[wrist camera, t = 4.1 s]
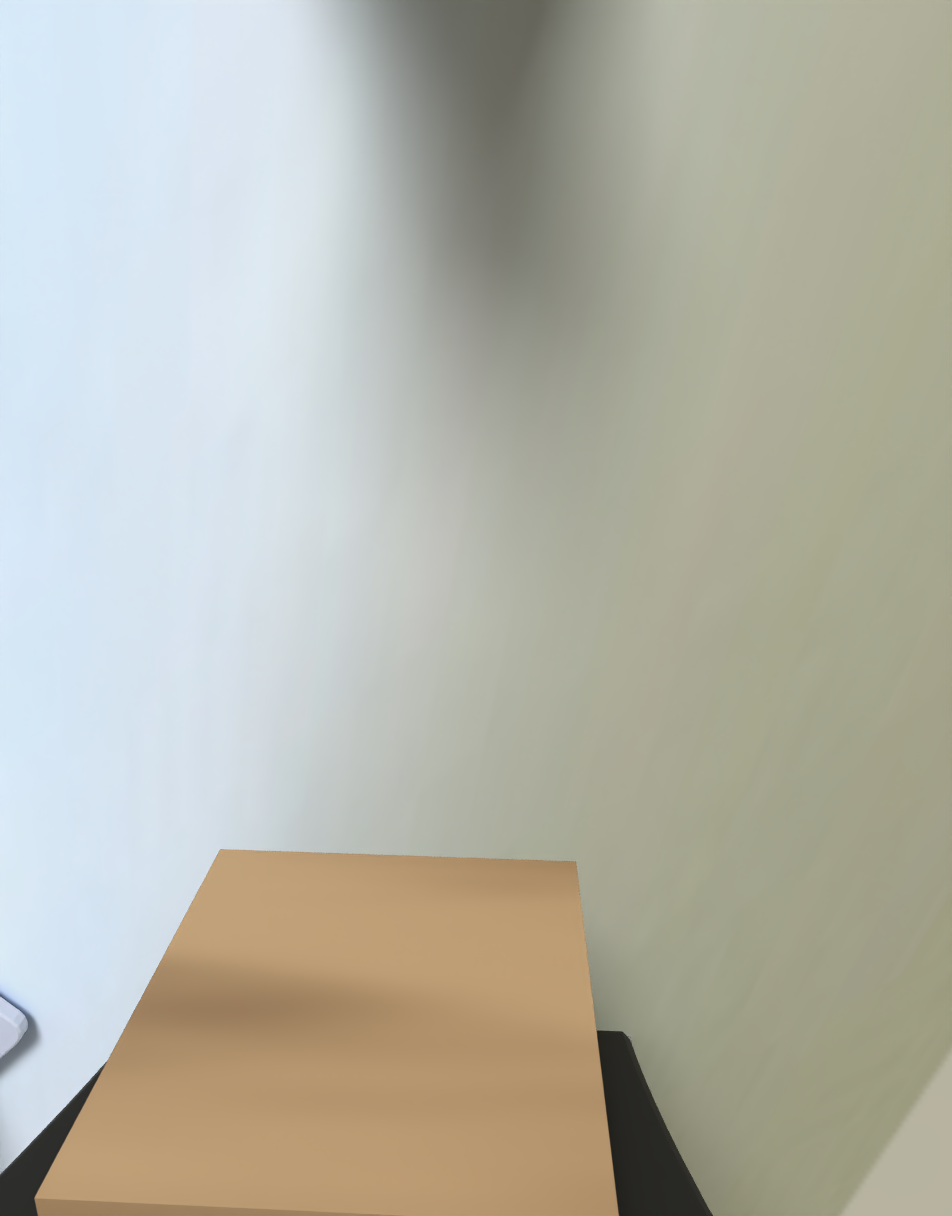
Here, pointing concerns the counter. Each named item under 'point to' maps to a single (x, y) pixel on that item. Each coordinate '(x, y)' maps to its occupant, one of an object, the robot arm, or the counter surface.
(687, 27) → the counter surface
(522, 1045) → the walnut cube
